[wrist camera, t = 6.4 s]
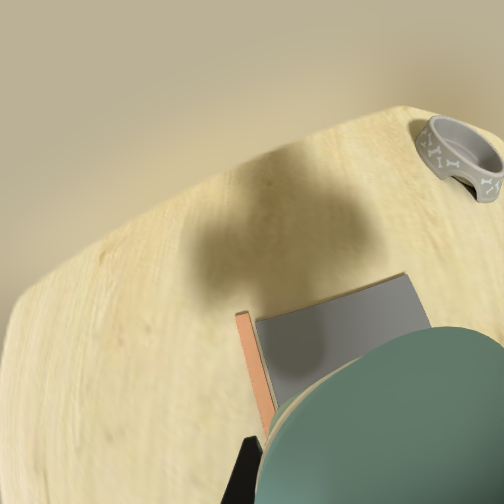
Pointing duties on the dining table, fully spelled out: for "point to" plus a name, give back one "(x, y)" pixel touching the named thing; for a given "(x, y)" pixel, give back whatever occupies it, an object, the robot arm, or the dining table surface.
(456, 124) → the dog bowl
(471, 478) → the teal cylinder
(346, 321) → the mat
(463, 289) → the dining table surface
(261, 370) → the orange strip
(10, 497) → the dining table surface
